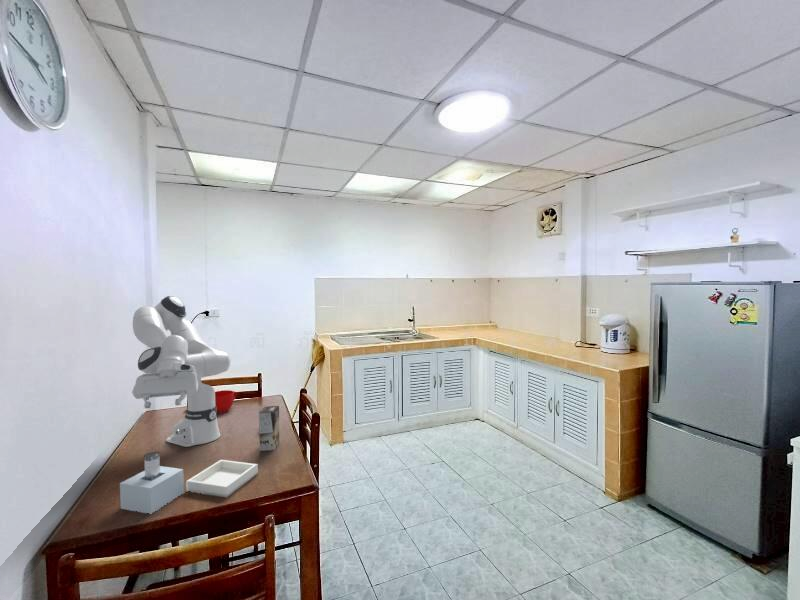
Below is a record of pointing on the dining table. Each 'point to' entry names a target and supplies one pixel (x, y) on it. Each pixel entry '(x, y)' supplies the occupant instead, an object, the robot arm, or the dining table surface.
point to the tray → (222, 478)
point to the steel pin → (152, 466)
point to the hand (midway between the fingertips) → (162, 405)
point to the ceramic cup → (224, 400)
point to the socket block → (151, 490)
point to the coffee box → (269, 428)
